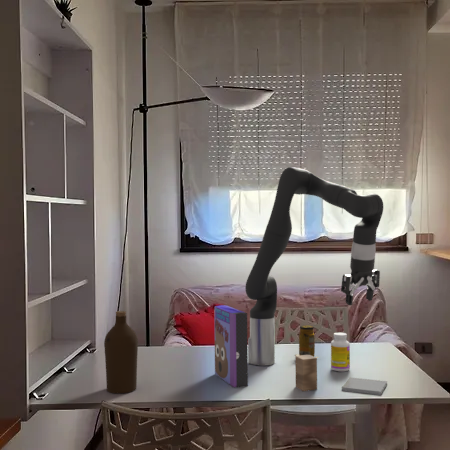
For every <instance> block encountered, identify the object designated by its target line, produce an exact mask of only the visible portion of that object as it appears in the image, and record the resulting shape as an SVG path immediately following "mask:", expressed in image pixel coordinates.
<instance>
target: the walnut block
mask: <svg viewBox="0 0 450 450" xmlns="http://www.w3.org/2000/svg"><path fill="white" fill-rule="evenodd" d="M316 357H317V356H316ZM316 357H313V356H311V355H300V356H296V355H295V363H294V364H295V388H297V389H298V390H300V391H302V392H306V391H307V392H308V390H309V391H316V390H315V389H317V390H318V359H317V358H316Z"/></svg>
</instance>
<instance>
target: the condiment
mask: <svg viewBox="0 0 450 450" xmlns="http://www.w3.org/2000/svg"><path fill="white" fill-rule="evenodd" d="M314 332H315V330H314V326H313V325H310V324H306V325H304V324H303V325H300V326H299V334H298V353H297V354H295V356H300V355H311V356H313V357H314V356H315V352H316V350H315V349H316V348H315V347H316V344H315V339H316V337H315V333H314ZM316 358H319V357H318V356H316Z"/></svg>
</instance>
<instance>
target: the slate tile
mask: <svg viewBox="0 0 450 450" xmlns="http://www.w3.org/2000/svg"><path fill="white" fill-rule="evenodd" d="M387 385H388V381H386V380H380V379H379V380H377V379H367V378H360V377H351V376H350V377H349V378H348V379H347V380H346V381H345V383H344V384H343V385H342V387H341V391H342V392H343V391H345V392H353V393H361V394H362V393H363V394H369V395H379V396H381V395H382V394H383V392H384V391H385V388H386V387H387Z"/></svg>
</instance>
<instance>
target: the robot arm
mask: <svg viewBox="0 0 450 450" xmlns="http://www.w3.org/2000/svg"><path fill="white" fill-rule="evenodd" d="M295 195H300V196H301V195H308V196H314V197H317V198H320V199H322V200H323V201H325V202H326V203H328V204H330V205H331V206H335V207H336V208H337V207H338V208H339V209H343V210H345V211H346V212H347V213H349V214H350V215H352V216H353V217H354V218H361V220H360V221H359V222H358V223H356V224H355V225H354V227H353V237H352V245H351V251H350V252H351V253H350V264H349V265H350V266H349V267H350V270H351V272H350V274H343V275H342V278H341V287H340V292H341V293H344V294H345V304H346V305H348V306H352V305H353V303H354V302H353V301H354V300H353V299H354V293H355V291H357V290H358V289H359V287H362V286H366V287H367V288H366V295H365V300H367V301H369V302H371V301H372V300H373V299H374V292H375V289H376V288H379V287H380V279H381V277H380V276H381V270H379V269H376V268H375V261H376V252H377V251H376V249H377V248H376V247H377V246H376V240H377V231H378V227H379V226H380V221H381V219H382V216H383V214H384V213H383V212H384V202H383V198H382V197H381V196H380V195H379V194H377V193H368V194H363V195H360V194H358V193H357V191H356V190H354V189H353V188H350V187H348V186H344V185H341V184H338V183H335V182H331V181H328V180H325V179H323V178H321V177H320V176H317V175H315V174H314V173H313V172H311V171H309V170H307V169H304V168H299V167H294V166H293V167H292V166H290V167H286V168H285V169H284V170H283V171H282V173H281V174H280V176H279V180H278V184H277V189H276V193H275V197H274V202H273V206H272V209H271V213H270V217H269V219H268V222H267V225H266V228H265V230H264V234H263V236H262V241H261V244H260V247H259V249H258V252H257V256H256V258H255V261H254V264H253V266H252V268H251V270H250V272H249V275H248V276H247V279H246V282H245V294H246V296H247V297H248V298H249V299H250V300H252V301H256V302H255V304H254V306H252V308H250V310H249V337H247V349H248V364H251V365H255V366H263V367H264V366H270V365H272V366H273V365H274V364H275V362H276V360H275V359H276V358H275V357H276V356H275V354H276V352H275V351H276V350H275V349H276V347H275V344H276V342H275V340H276V339H275V336H276V335H275V313H276V310H277V305H278V303H277V302H278V286H277V281H276V279H275V277H274V276H273V275H271V274H270V273H271V270H272V268H273V267H274V265H275V263H276V262H277V261H278V260H279V258H280V257H282V255H283V253H284V252H285V250H286V249H287V247H288V245H289V241H290V238H291V235H292V230H293V225H292V219H291V212H290V210H291V204H292V201H293V198H294V196H295Z"/></svg>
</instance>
